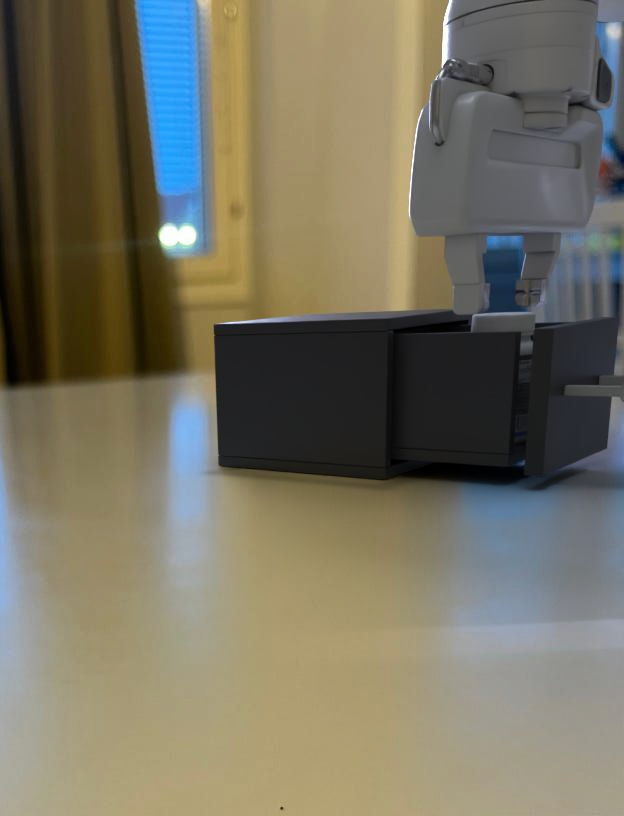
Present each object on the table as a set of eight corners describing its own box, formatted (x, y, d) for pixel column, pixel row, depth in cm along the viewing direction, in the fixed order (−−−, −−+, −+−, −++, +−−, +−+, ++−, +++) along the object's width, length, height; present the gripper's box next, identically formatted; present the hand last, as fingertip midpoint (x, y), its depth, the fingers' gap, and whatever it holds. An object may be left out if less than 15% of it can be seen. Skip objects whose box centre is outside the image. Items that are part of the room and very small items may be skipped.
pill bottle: (452, 437, 71) (458, 314, 68) (520, 434, 70) (527, 310, 68) (470, 447, 66) (477, 316, 63) (542, 443, 66) (552, 311, 63)
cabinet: (467, 451, 77) (474, 307, 73) (384, 479, 68) (388, 318, 64) (307, 442, 86) (307, 314, 83) (217, 465, 77) (212, 324, 74)
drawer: (680, 452, 66) (697, 314, 63) (622, 482, 58) (638, 326, 55) (428, 439, 78) (432, 322, 75) (352, 462, 70) (353, 332, 67)
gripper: (492, 41, 52) (478, 317, 56) (624, 81, 66) (605, 300, 70) (384, 64, 56) (380, 321, 60) (530, 98, 70) (518, 304, 74)
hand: (502, 310), depth 66 cm, fingers open, 8 cm apart
